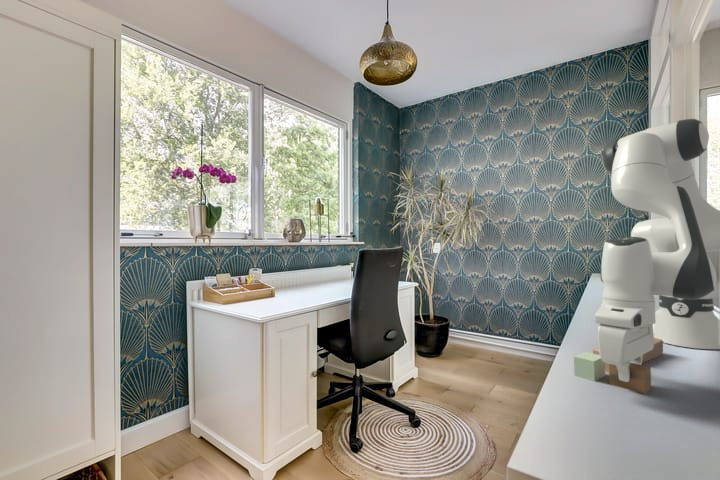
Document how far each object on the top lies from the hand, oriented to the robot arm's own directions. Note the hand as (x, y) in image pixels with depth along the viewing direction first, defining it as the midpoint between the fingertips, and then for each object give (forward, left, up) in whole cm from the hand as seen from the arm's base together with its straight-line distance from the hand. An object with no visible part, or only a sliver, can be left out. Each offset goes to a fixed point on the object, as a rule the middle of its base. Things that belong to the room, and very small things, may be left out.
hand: (629, 377), depth 70 cm
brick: (-25, -7, -2) cm, 26 cm away
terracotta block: (-8, -6, -2) cm, 10 cm away
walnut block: (0, 0, -2) cm, 2 cm away
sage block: (0, -8, -2) cm, 8 cm away
